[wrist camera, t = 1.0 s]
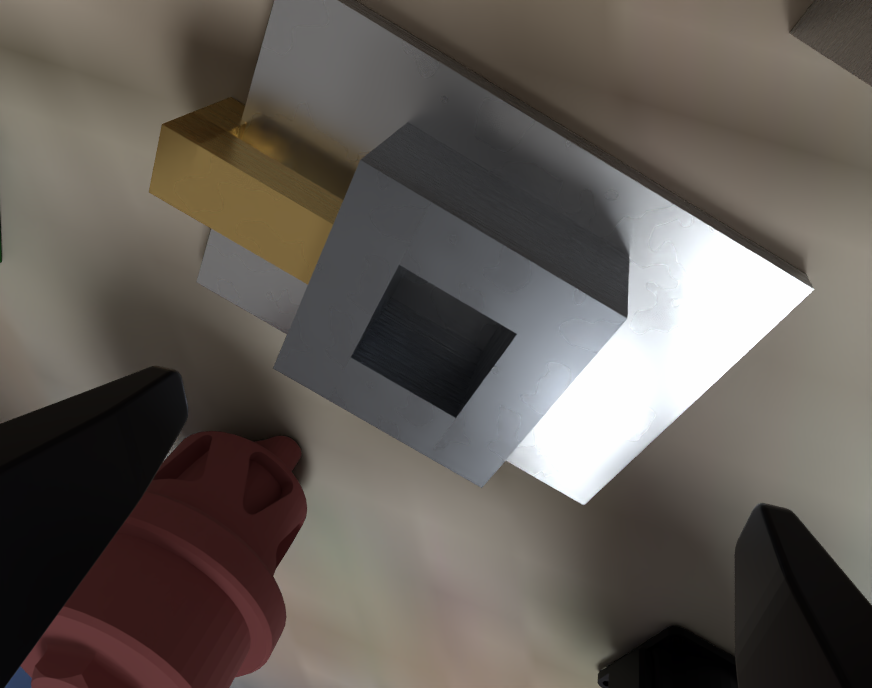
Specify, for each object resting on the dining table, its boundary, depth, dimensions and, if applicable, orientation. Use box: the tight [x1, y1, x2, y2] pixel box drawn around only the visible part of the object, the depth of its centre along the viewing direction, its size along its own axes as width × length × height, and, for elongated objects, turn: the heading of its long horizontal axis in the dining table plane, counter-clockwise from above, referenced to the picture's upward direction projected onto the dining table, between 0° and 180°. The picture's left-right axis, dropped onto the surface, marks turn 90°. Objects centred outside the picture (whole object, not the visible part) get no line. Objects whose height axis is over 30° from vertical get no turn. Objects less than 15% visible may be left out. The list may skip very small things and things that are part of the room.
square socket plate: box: [149, 0, 814, 505], centre depth 20 cm, size 19×12×5 cm, turn 64°
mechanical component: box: [21, 431, 307, 688], centre depth 26 cm, size 12×10×10 cm
